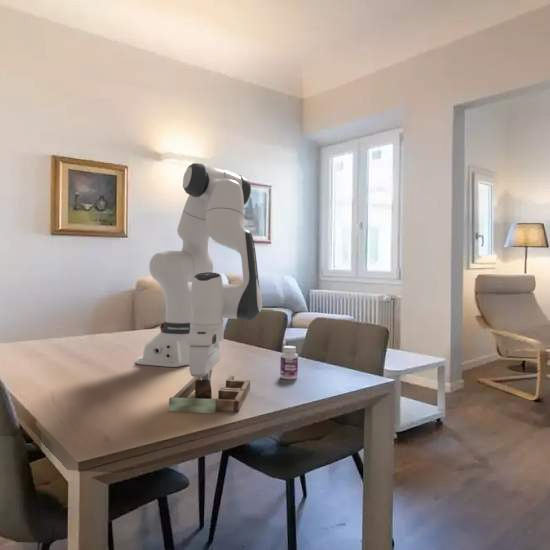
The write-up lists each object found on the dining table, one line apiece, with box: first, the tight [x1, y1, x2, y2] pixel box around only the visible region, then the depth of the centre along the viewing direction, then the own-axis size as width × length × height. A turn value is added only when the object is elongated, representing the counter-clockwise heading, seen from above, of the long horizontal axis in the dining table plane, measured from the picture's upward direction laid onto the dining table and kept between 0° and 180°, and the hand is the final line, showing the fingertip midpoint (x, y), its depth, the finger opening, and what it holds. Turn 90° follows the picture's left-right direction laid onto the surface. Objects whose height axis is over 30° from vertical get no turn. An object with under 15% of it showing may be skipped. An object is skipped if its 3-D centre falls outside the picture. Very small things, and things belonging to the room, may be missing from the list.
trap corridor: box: [168, 375, 251, 414], centre depth 123 cm, size 16×26×3 cm, turn 175°
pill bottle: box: [279, 345, 299, 380], centre depth 144 cm, size 5×5×10 cm
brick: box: [194, 379, 213, 399], centre depth 117 cm, size 11×4×5 cm, turn 10°
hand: (206, 385), depth 124 cm, fingers closed
